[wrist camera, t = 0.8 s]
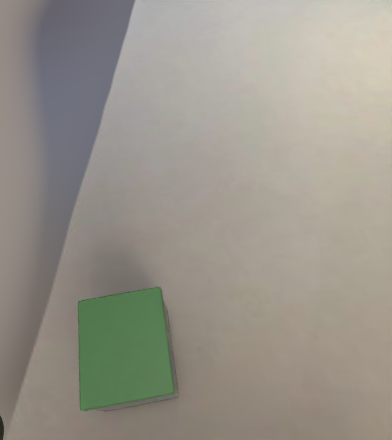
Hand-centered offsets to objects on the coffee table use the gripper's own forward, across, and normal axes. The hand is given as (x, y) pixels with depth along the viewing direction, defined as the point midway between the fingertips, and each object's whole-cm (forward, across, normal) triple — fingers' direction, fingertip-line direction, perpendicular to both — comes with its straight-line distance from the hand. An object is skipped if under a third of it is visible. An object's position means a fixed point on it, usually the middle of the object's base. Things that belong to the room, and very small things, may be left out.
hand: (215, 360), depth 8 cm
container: (+14, +3, +14) cm, 20 cm away
